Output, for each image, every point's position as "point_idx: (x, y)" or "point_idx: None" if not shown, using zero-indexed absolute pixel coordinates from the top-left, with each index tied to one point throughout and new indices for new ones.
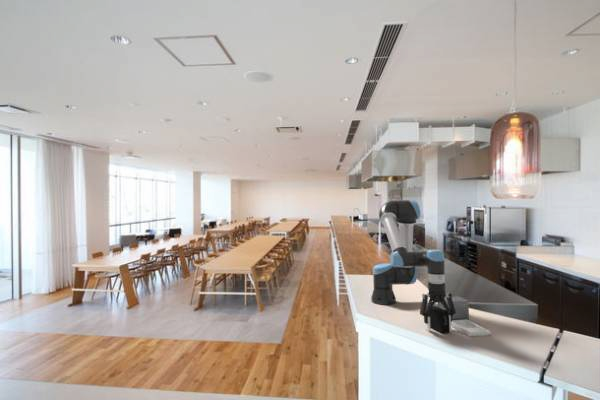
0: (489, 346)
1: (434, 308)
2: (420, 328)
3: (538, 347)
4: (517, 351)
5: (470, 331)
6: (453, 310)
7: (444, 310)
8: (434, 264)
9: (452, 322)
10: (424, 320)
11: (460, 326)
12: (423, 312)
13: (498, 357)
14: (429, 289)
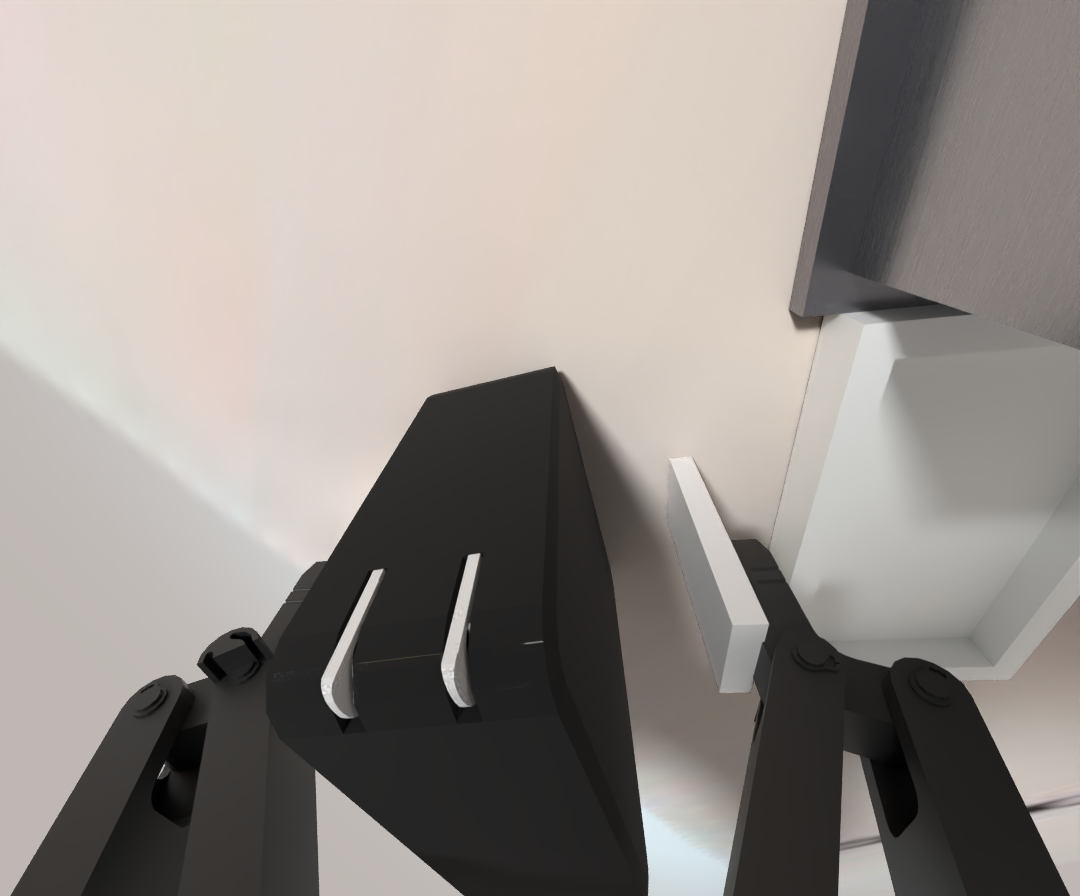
0: (746, 746)
1: (431, 823)
2: (317, 429)
3: (1052, 778)
4: (851, 789)
5: (857, 589)
6: (892, 809)
7: (606, 888)
8: None
9: (852, 420)
10: (295, 602)
11: (822, 559)
12: (177, 803)
13: (675, 807)
14: None
